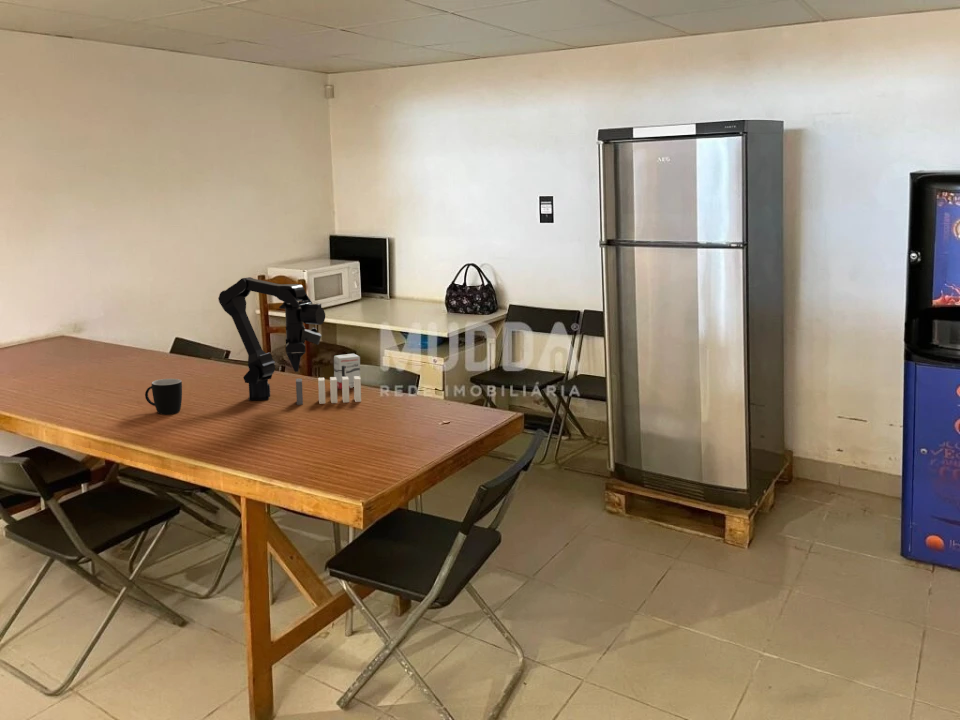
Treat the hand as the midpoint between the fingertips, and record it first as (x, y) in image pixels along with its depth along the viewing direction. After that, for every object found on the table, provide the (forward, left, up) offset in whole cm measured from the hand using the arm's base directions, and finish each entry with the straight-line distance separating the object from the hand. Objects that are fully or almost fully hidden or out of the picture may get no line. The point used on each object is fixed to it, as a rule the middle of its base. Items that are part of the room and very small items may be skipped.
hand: (296, 368), depth 260 cm
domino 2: (+8, 0, -12) cm, 14 cm away
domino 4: (+16, 0, -12) cm, 20 cm away
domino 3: (+12, 0, -12) cm, 17 cm away
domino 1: (+1, 0, -12) cm, 12 cm away
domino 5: (+20, 0, -12) cm, 23 cm away
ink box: (+18, +20, -12) cm, 30 cm away
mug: (-42, -3, -12) cm, 44 cm away
